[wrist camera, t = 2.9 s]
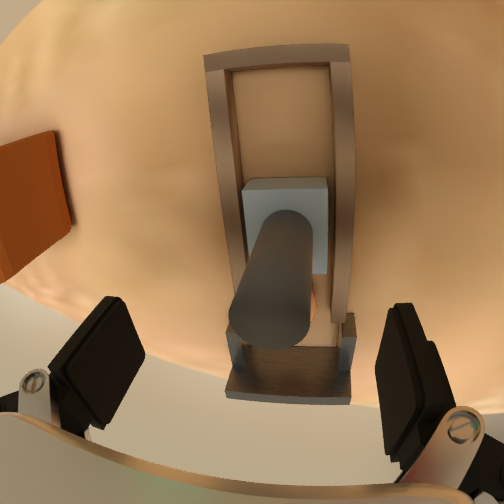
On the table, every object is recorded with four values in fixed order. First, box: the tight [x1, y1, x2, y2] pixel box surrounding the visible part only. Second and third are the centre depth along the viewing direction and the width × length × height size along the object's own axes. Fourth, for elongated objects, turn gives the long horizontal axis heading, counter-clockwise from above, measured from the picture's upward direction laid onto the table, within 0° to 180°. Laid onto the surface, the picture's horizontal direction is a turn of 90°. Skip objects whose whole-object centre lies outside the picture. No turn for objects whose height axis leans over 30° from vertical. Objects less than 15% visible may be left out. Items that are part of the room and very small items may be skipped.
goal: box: [225, 313, 357, 405], centre depth 21 cm, size 5×9×5 cm, turn 95°
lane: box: [203, 44, 355, 323], centre depth 17 cm, size 17×7×2 cm, turn 5°
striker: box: [229, 177, 328, 350], centre depth 14 cm, size 5×4×9 cm
